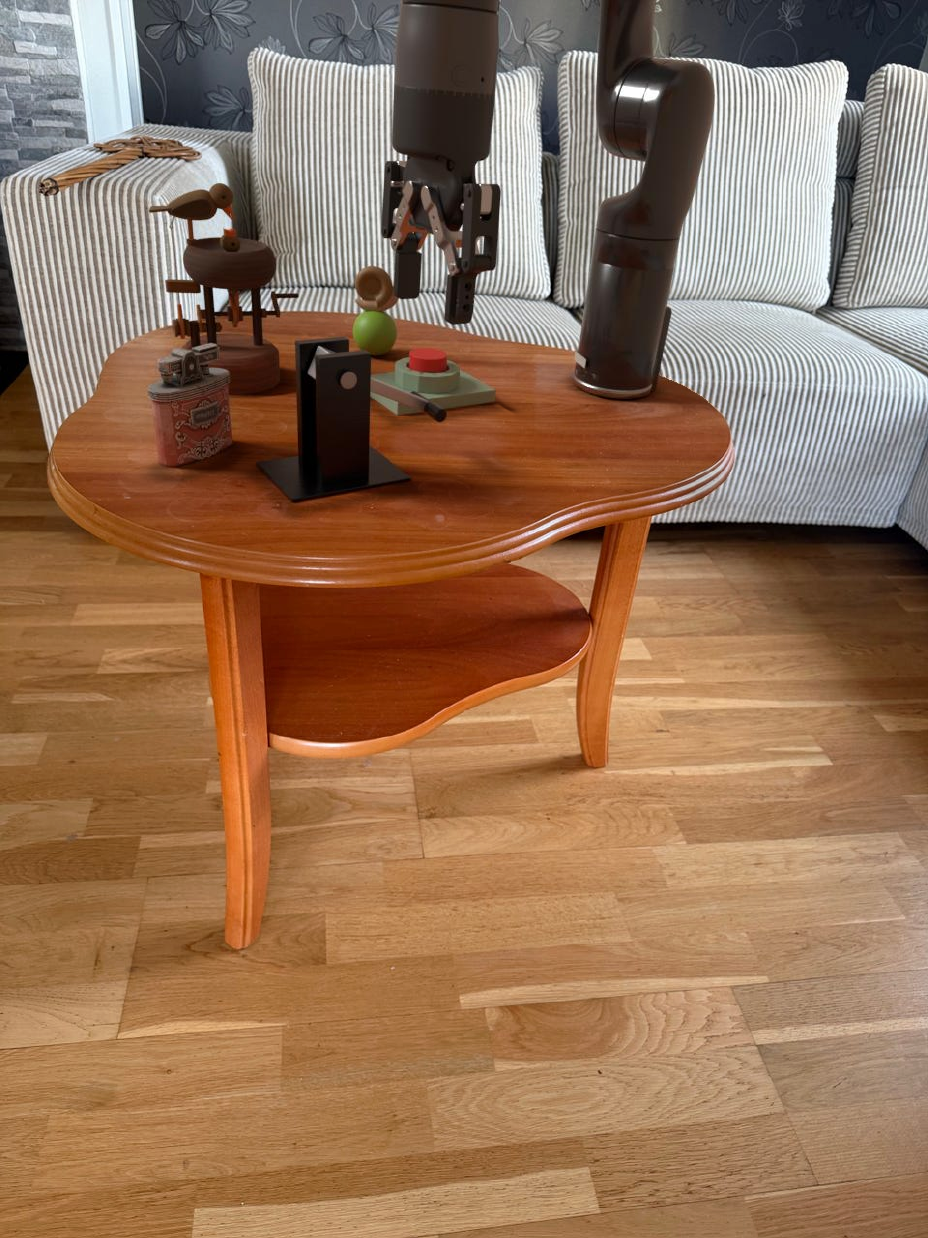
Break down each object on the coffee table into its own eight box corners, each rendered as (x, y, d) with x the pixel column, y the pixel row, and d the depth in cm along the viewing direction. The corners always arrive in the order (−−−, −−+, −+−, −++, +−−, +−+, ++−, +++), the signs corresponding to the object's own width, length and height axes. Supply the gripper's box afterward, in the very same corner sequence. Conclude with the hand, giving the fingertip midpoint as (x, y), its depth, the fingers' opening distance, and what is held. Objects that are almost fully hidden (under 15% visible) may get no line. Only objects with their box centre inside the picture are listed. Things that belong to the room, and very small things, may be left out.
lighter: (176, 481, 74) (163, 364, 68) (148, 470, 75) (133, 354, 70) (244, 454, 80) (236, 343, 74) (217, 444, 81) (208, 335, 75)
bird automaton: (185, 402, 89) (157, 184, 79) (158, 378, 97) (130, 178, 88) (323, 387, 96) (314, 185, 87) (287, 365, 104) (275, 179, 95)
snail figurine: (402, 363, 106) (406, 259, 99) (349, 359, 106) (350, 254, 99) (405, 350, 110) (409, 249, 104) (355, 346, 110) (356, 245, 104)
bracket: (369, 456, 81) (371, 328, 75) (410, 490, 76) (417, 355, 69) (256, 474, 76) (248, 338, 70) (292, 512, 71) (287, 368, 64)
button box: (451, 383, 101) (453, 349, 99) (494, 409, 95) (497, 373, 93) (357, 395, 95) (358, 358, 93) (397, 423, 89) (398, 385, 87)
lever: (412, 411, 80) (423, 386, 79) (440, 430, 76) (452, 405, 75) (300, 368, 72) (311, 340, 71) (325, 387, 68) (337, 358, 68)
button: (434, 362, 95) (435, 346, 94) (453, 373, 93) (454, 357, 92) (402, 365, 93) (402, 349, 92) (420, 377, 91) (421, 360, 90)
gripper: (542, 94, 61) (515, 330, 70) (439, 80, 71) (427, 288, 80) (451, 87, 57) (435, 336, 66) (356, 73, 67) (353, 291, 76)
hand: (431, 309), depth 73 cm, fingers open, 8 cm apart
